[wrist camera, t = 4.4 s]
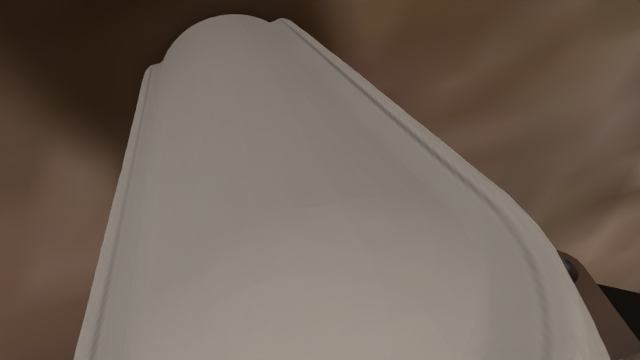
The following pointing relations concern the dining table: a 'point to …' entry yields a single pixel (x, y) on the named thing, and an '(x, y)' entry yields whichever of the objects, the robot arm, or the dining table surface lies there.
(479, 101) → the dining table surface
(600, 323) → the robot arm
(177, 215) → the photo printer
